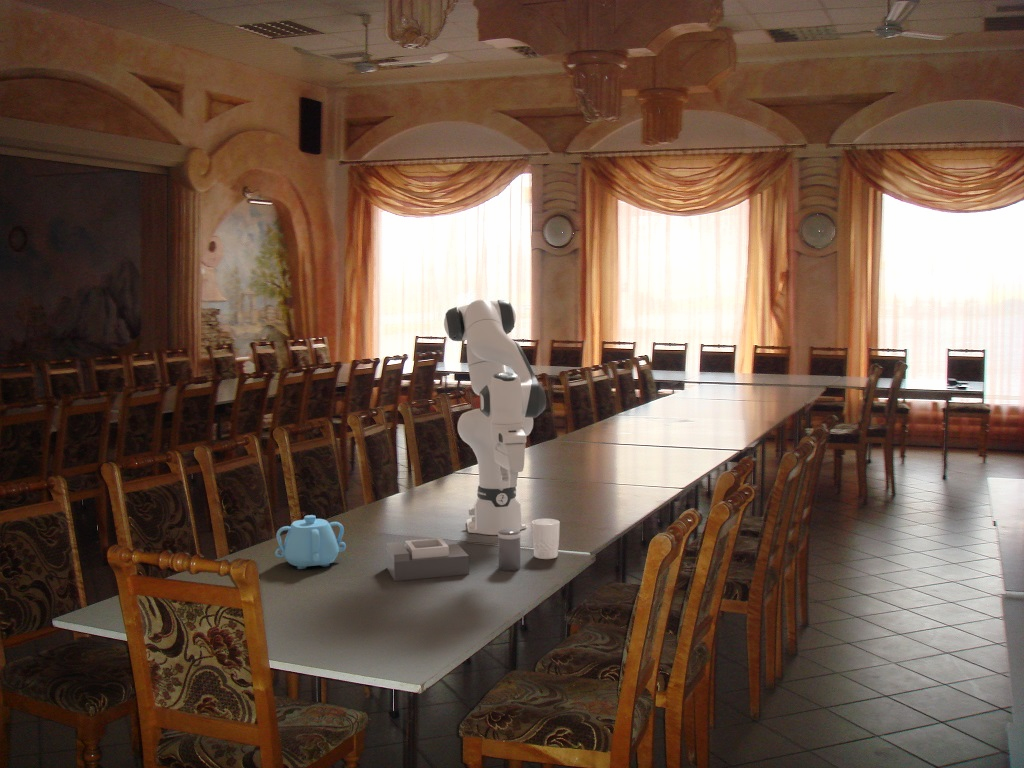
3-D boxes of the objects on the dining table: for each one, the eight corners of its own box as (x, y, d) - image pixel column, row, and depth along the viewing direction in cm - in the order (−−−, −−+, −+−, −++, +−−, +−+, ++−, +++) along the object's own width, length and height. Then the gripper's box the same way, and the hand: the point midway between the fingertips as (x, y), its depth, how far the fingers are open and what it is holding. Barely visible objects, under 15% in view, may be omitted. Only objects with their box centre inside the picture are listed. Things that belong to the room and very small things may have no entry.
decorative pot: (269, 567, 281) (267, 518, 280) (309, 553, 295) (307, 507, 294) (313, 575, 273) (311, 525, 272) (352, 560, 287) (351, 513, 285)
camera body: (386, 567, 278) (386, 541, 278) (458, 561, 284) (457, 535, 283) (394, 580, 266) (394, 552, 265) (469, 574, 271) (468, 546, 271)
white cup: (558, 552, 292) (558, 518, 291) (561, 559, 285) (560, 524, 284) (531, 552, 292) (530, 518, 291) (532, 560, 284) (532, 525, 283)
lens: (495, 565, 279) (495, 530, 278) (517, 563, 281) (516, 528, 280) (501, 571, 273) (501, 535, 272) (523, 569, 275) (523, 533, 274)
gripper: (487, 429, 283) (489, 478, 284) (504, 438, 264) (506, 491, 265) (509, 428, 285) (510, 477, 286) (528, 436, 265) (529, 489, 266)
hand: (508, 483), depth 275 cm, fingers open, 8 cm apart
